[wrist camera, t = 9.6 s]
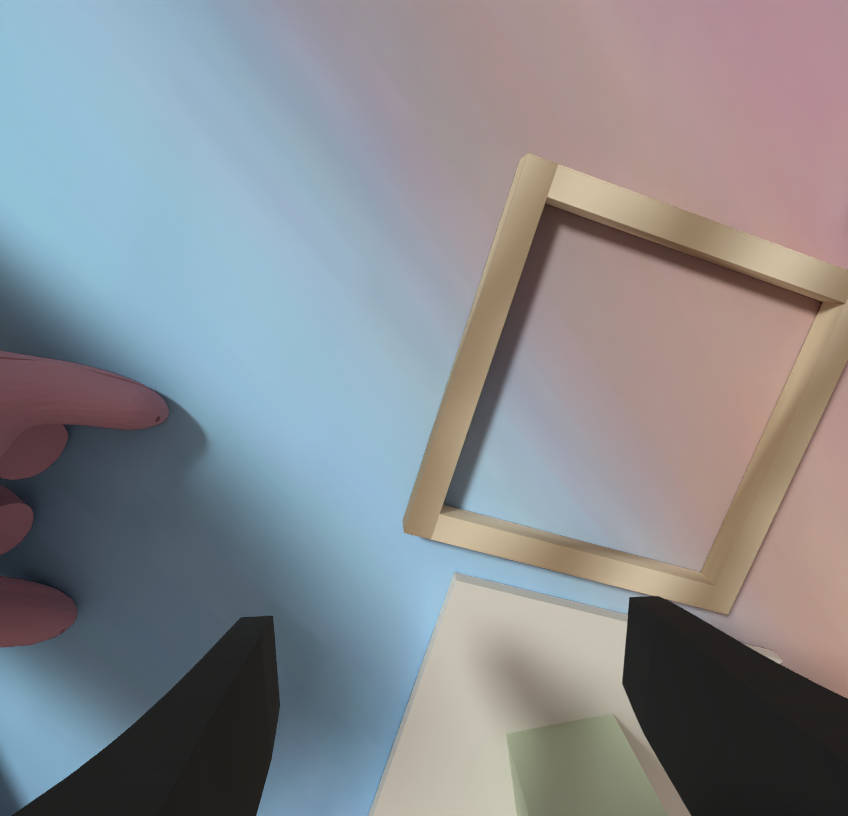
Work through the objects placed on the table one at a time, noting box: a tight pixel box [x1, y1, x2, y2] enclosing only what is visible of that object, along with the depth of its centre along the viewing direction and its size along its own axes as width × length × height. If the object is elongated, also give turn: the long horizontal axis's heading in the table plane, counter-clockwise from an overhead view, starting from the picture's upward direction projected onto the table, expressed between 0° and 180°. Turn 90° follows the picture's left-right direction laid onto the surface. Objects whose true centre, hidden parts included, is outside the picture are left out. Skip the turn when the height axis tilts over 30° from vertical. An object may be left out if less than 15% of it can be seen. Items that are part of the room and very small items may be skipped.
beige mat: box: [368, 572, 782, 816], centre depth 23 cm, size 14×14×1 cm
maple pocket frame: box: [403, 153, 848, 615], centre depth 20 cm, size 13×13×1 cm
